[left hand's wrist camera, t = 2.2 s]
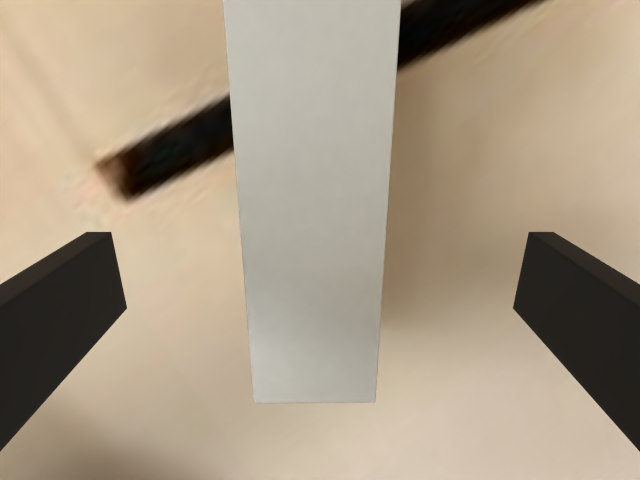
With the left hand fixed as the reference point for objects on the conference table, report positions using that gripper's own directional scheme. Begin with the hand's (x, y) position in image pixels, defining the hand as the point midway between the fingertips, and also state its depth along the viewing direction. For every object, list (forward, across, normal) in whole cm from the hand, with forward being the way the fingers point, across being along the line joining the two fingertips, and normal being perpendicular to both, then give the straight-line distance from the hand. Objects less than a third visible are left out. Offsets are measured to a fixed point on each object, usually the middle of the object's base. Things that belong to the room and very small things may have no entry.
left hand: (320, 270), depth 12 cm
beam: (+9, 0, -22) cm, 24 cm away
